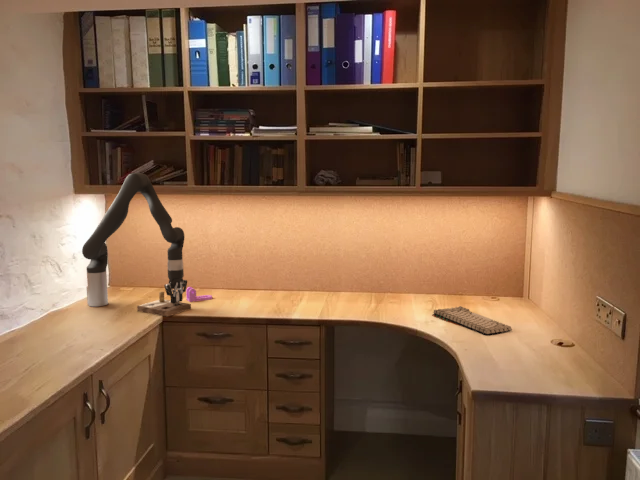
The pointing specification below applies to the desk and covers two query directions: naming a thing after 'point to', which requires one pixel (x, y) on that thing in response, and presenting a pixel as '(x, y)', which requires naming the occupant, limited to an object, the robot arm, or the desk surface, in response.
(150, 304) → the pin board
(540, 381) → the desk surface
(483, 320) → the mechanical keyboard
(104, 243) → the robot arm
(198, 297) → the bracket
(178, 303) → the grey metal pin
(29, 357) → the desk surface
